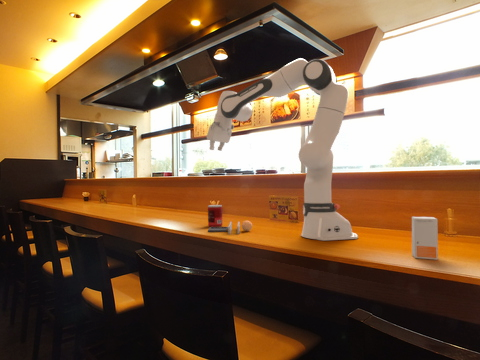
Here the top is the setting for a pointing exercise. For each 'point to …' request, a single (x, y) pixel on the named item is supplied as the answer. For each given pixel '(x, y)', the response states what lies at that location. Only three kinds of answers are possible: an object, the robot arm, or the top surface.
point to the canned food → (215, 215)
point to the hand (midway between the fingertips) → (215, 150)
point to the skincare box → (425, 237)
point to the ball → (246, 225)
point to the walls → (231, 227)
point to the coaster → (218, 229)
